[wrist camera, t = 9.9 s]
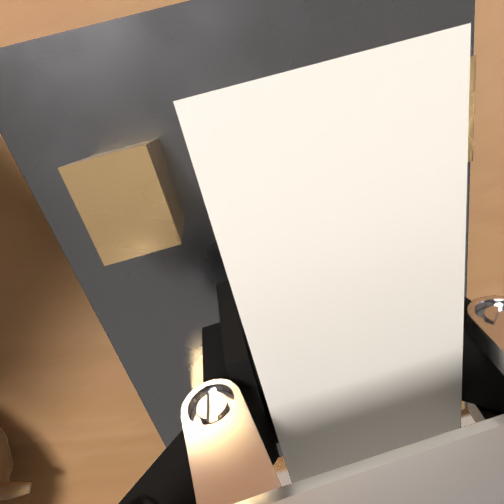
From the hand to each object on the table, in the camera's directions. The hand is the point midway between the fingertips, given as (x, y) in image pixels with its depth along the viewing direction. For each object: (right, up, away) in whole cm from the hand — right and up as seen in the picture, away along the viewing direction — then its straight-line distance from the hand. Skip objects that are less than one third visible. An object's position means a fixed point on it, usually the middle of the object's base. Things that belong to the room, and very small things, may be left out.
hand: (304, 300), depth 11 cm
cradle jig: (0, +1, +2) cm, 2 cm away
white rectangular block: (0, 0, 0) cm, 0 cm away
